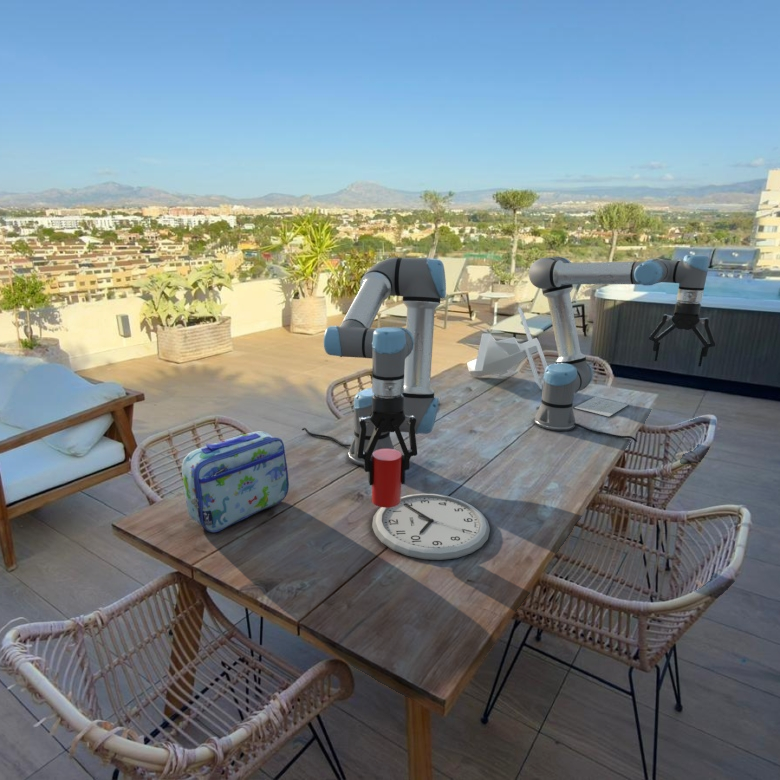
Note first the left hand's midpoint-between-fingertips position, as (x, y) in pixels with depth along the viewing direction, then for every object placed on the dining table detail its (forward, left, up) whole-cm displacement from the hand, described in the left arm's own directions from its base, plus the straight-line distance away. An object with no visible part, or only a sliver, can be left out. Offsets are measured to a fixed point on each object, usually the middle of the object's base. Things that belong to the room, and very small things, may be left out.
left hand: (386, 481), depth 130 cm
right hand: (+73, +93, +17) cm, 120 cm away
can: (0, 0, -5) cm, 5 cm away
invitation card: (+52, +123, -12) cm, 135 cm away
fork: (-15, +94, -12) cm, 96 cm away
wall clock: (+10, +5, -12) cm, 17 cm away
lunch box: (-38, -9, -12) cm, 41 cm away
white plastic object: (+8, +142, -12) cm, 143 cm away
